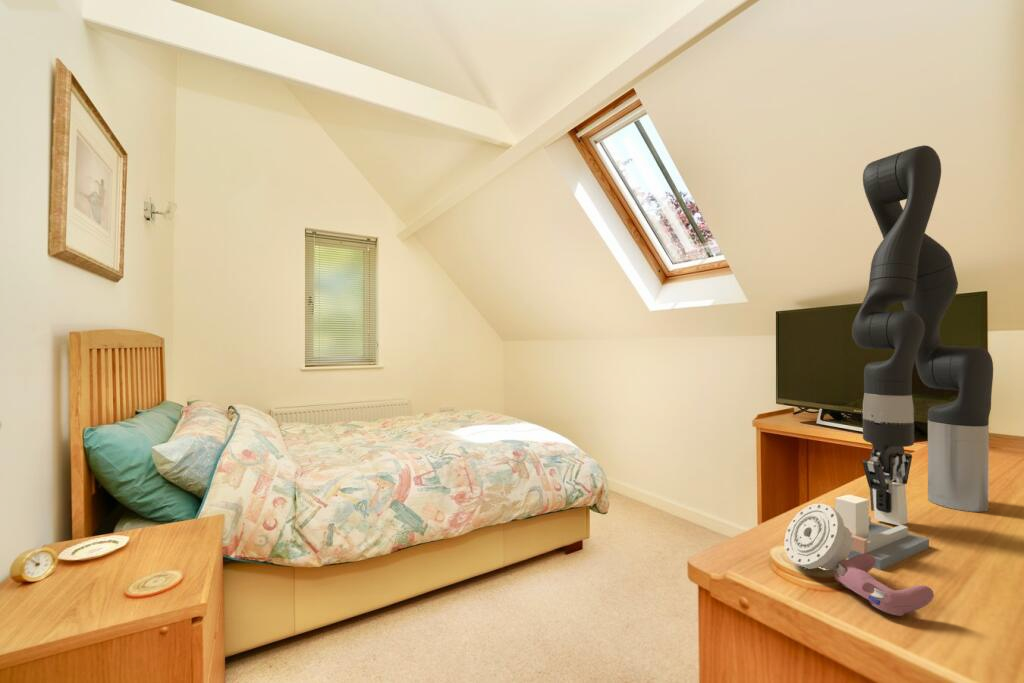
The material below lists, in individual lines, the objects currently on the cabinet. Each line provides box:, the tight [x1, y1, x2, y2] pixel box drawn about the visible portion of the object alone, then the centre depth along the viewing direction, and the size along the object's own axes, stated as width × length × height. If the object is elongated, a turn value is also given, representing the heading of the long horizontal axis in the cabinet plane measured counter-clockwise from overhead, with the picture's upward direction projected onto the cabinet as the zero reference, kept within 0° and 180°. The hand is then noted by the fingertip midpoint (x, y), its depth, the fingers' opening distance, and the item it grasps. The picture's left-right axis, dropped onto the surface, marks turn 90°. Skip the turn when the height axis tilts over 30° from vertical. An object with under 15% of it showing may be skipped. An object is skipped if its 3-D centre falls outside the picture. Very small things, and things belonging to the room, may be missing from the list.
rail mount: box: [834, 494, 930, 571], centre depth 78 cm, size 16×11×8 cm
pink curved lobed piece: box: [834, 554, 935, 617], centre depth 62 cm, size 10×5×7 cm
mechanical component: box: [783, 503, 854, 571], centre depth 70 cm, size 10×4×10 cm
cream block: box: [869, 482, 909, 526], centre depth 88 cm, size 5×3×7 cm, turn 29°
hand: (888, 509), depth 88 cm, fingers closed on cream block, 2 cm apart
